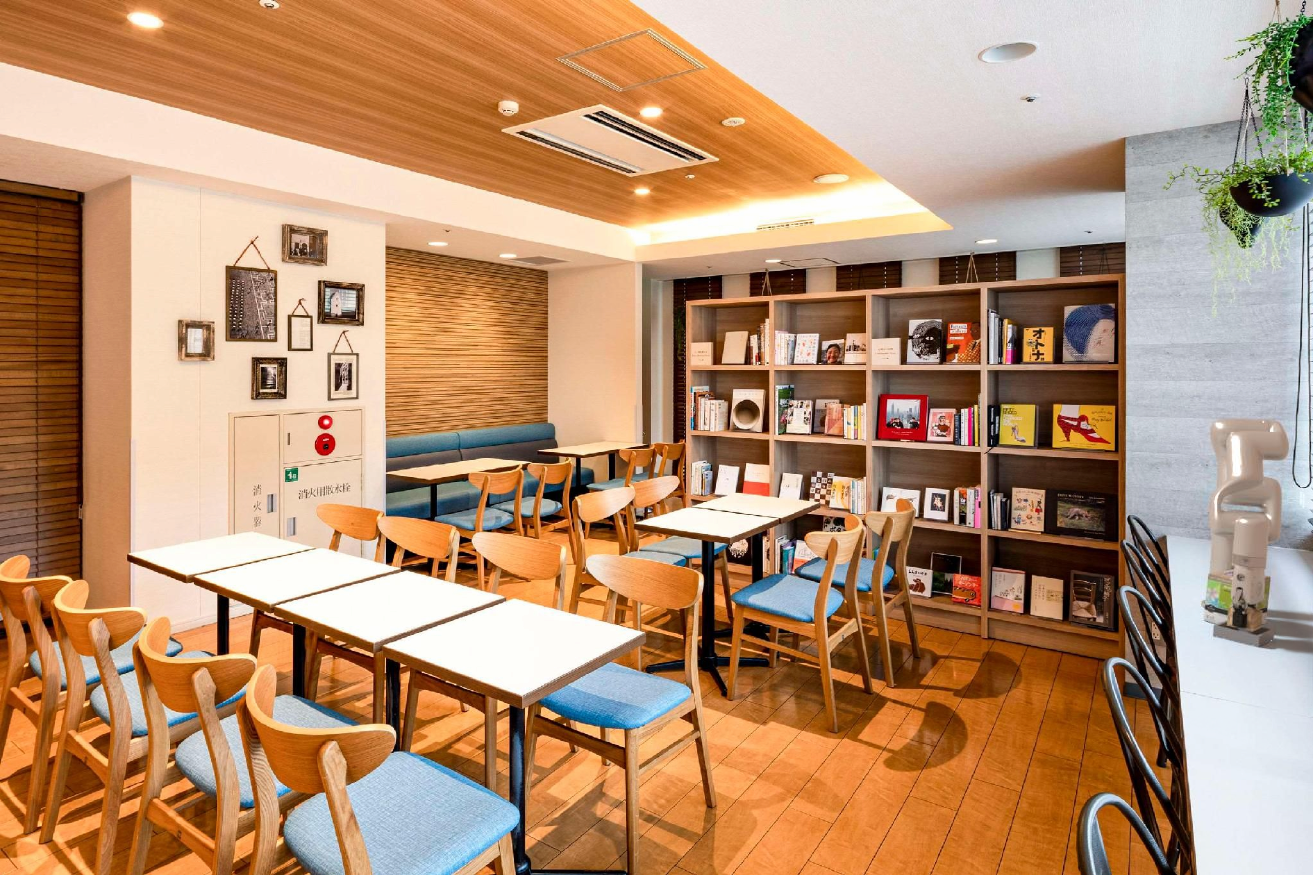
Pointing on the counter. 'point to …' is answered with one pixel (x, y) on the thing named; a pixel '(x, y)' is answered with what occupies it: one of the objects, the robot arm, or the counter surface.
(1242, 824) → the counter surface
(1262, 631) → the grey square tray
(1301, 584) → the counter surface
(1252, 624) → the oak crate
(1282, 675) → the counter surface
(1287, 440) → the robot arm
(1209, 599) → the tea box
